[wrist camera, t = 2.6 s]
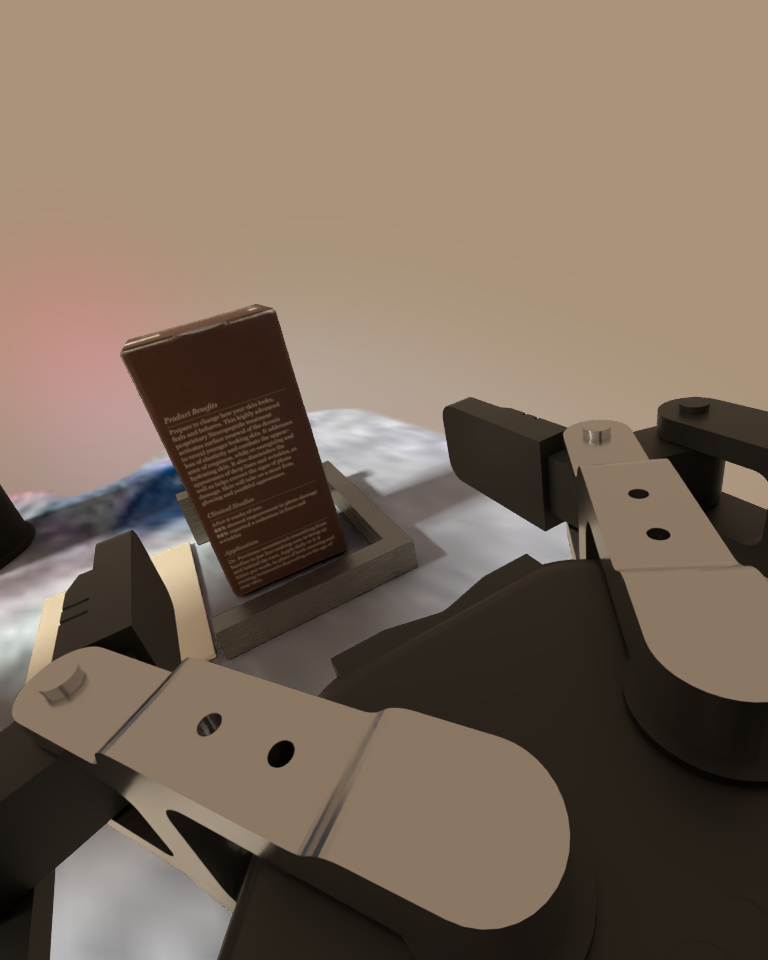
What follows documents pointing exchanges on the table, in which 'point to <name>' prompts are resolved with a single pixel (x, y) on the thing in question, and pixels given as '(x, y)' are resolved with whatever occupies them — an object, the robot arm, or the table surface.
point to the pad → (185, 597)
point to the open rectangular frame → (315, 572)
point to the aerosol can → (12, 530)
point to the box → (239, 442)
